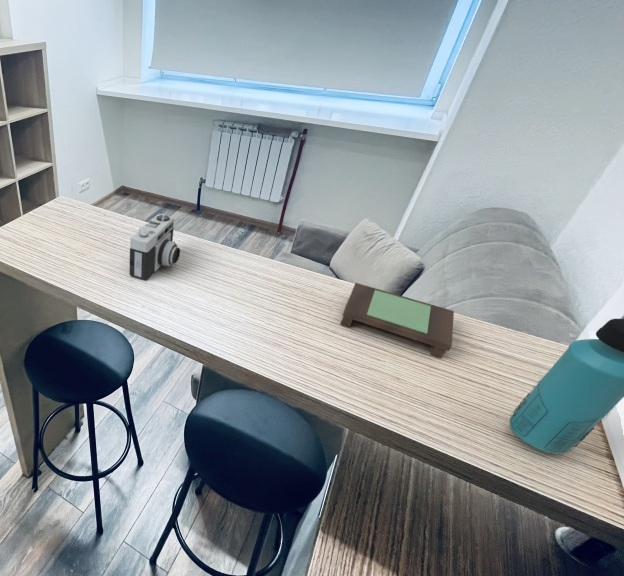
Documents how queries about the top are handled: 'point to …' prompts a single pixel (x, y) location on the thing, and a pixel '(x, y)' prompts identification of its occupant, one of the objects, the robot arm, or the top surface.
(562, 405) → the beverage bottle
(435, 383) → the top surface
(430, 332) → the shelf
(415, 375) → the top surface
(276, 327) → the top surface
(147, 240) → the camera
